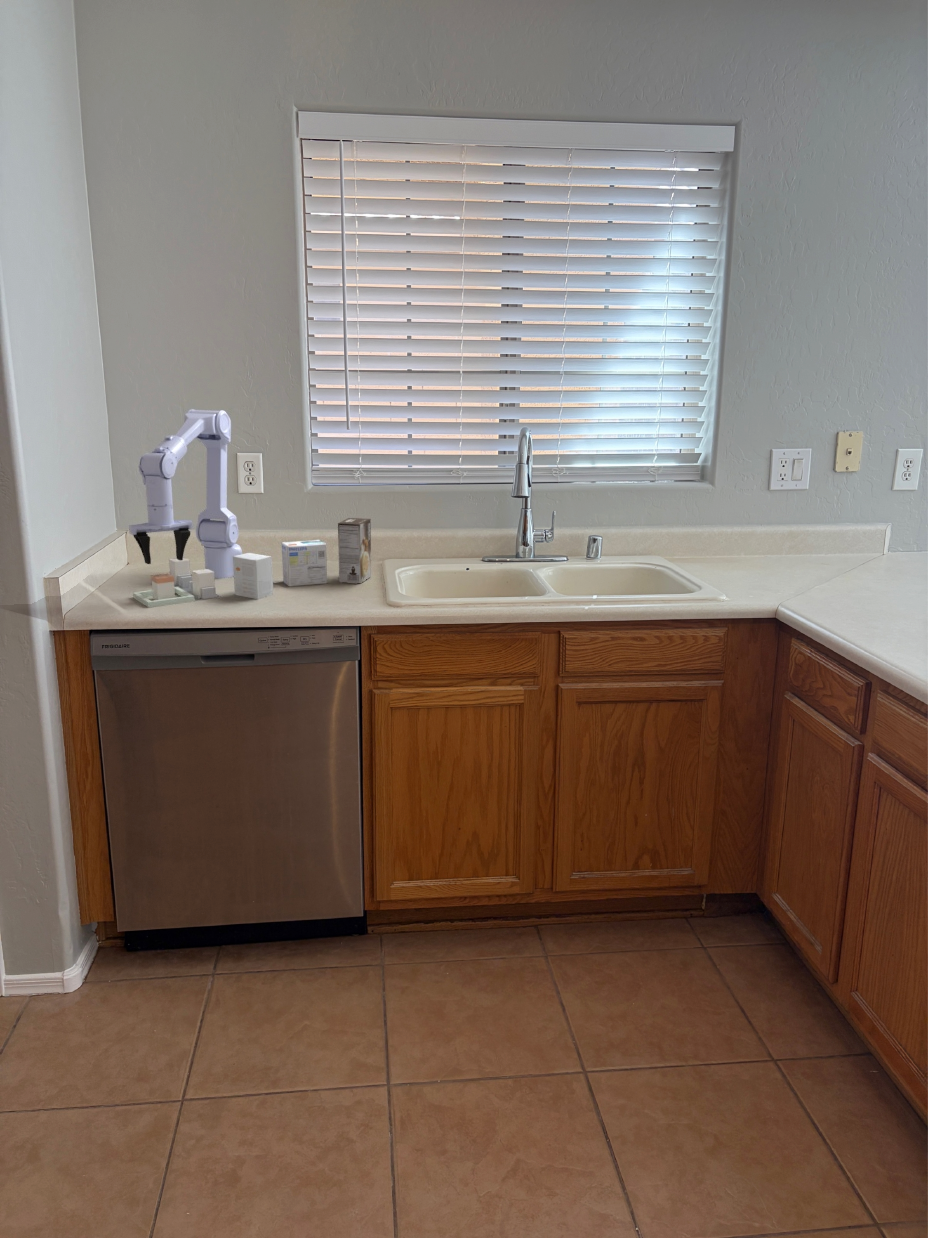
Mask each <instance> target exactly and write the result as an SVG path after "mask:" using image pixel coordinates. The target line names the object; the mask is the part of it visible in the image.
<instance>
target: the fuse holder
mask: <svg viewBox="0 0 928 1238" xmlns="http://www.w3.org/2000/svg"><path fill="white" fill-rule="evenodd" d="M177 579H178V585H175V584H174V587H179V588H181V589H183V590H184V591H186V592H188V593H190V594H191V595H193V579H192V573H191V574H185V575H177ZM216 592H217V591H216V586H215V587H206V588H201V595H202V598H198V597H197V596H195V595H193V596H194V599H195V600H196V601H198V600H207V599H214V598H219V597H221V595H220V594H218V593H216Z"/></svg>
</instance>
